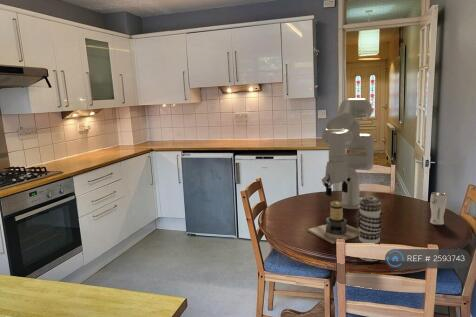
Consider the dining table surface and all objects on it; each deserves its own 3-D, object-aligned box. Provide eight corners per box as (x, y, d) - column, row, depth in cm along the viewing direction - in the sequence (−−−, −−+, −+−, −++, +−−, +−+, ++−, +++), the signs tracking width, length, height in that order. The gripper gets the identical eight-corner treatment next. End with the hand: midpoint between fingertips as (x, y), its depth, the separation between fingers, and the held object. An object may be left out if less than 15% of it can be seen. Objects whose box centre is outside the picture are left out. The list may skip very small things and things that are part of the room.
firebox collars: (337, 225, 179) (337, 215, 178) (350, 231, 171) (350, 220, 170) (322, 229, 175) (322, 218, 174) (335, 236, 167) (335, 224, 166)
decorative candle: (364, 249, 154) (365, 193, 150) (385, 256, 147) (387, 197, 143) (352, 256, 148) (353, 198, 144) (373, 263, 141) (375, 203, 137)
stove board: (339, 222, 186) (339, 221, 185) (365, 234, 170) (365, 232, 170) (307, 230, 177) (307, 229, 177) (332, 243, 161) (332, 241, 161)
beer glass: (443, 221, 182) (445, 192, 179) (446, 226, 176) (448, 196, 173) (428, 219, 185) (429, 191, 182) (430, 224, 178) (432, 195, 175)
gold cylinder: (336, 227, 177) (337, 200, 174) (345, 231, 172) (345, 203, 169) (327, 230, 174) (327, 202, 172) (335, 233, 169) (336, 205, 167)
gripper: (345, 154, 174) (345, 188, 177) (316, 159, 166) (317, 195, 170) (356, 157, 167) (356, 192, 171) (327, 162, 160) (327, 199, 163)
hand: (336, 193), depth 170 cm, fingers open, 9 cm apart
